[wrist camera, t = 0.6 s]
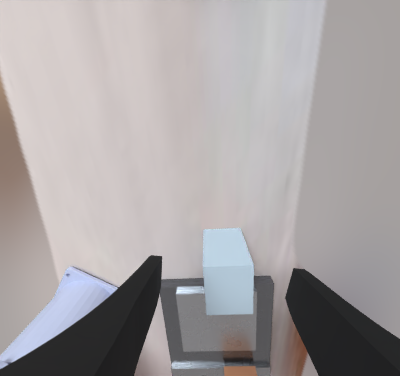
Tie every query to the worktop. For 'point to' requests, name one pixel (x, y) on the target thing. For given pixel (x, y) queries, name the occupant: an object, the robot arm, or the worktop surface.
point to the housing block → (227, 272)
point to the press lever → (240, 371)
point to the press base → (215, 330)
